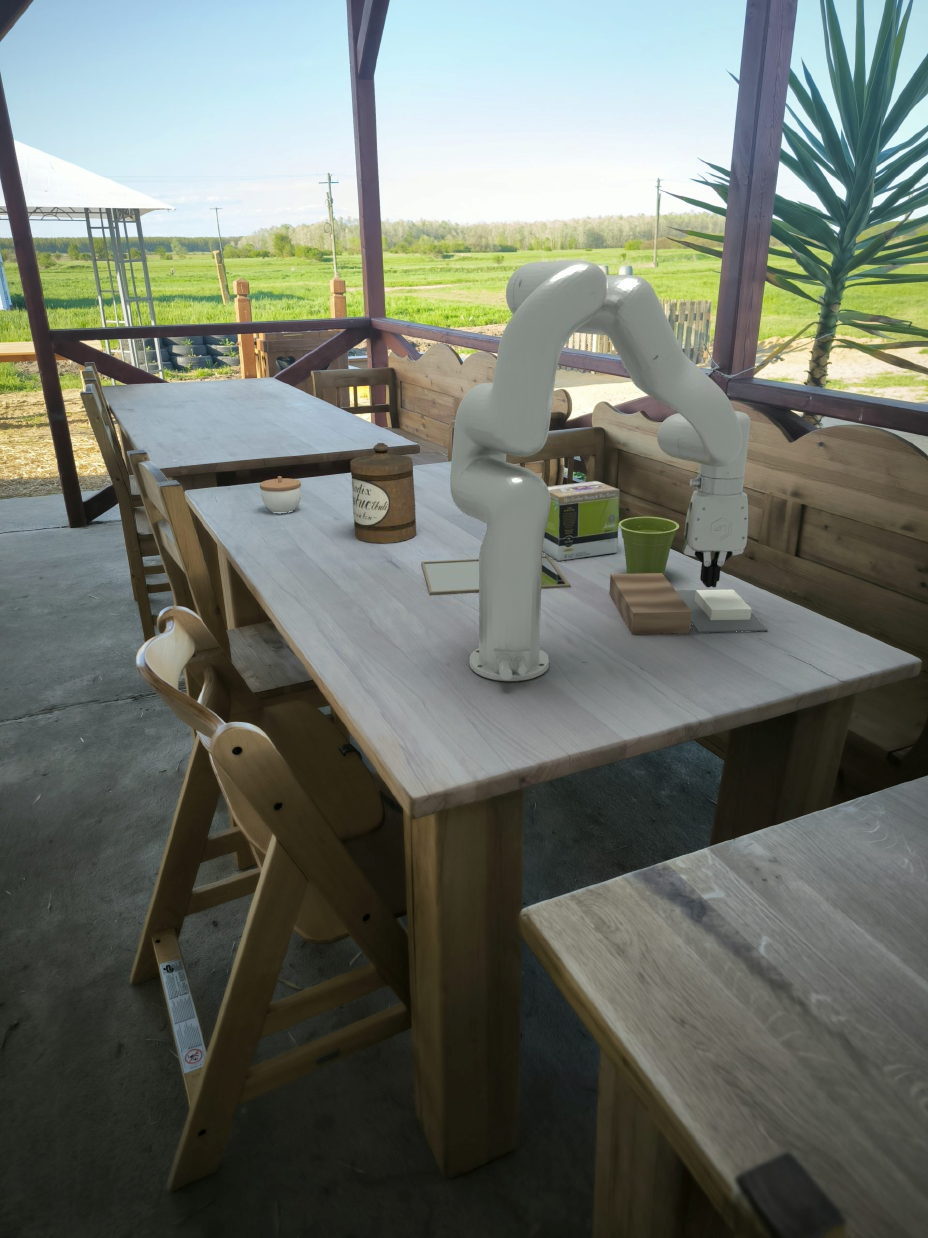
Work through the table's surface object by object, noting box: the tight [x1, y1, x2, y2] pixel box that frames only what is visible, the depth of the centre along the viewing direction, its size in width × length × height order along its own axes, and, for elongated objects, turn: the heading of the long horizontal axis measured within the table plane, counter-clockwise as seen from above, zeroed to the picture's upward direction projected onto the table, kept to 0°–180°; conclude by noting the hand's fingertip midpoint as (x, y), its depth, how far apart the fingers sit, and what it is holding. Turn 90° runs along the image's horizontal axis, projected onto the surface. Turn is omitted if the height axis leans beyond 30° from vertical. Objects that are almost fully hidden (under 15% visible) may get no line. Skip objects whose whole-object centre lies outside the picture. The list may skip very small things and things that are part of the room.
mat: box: [675, 588, 768, 634], centre depth 149 cm, size 20×12×1 cm, turn 2°
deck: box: [608, 573, 692, 635], centre depth 148 cm, size 20×10×4 cm, turn 2°
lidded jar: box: [259, 475, 302, 513], centre depth 217 cm, size 11×11×9 cm
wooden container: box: [350, 442, 417, 544], centre depth 193 cm, size 15×15×22 cm
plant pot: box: [618, 516, 680, 576], centre depth 165 cm, size 12×12×11 cm
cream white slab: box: [695, 588, 753, 620], centre depth 149 cm, size 10×7×2 cm
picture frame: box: [420, 554, 571, 596], centre depth 169 cm, size 19×1×28 cm
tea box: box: [542, 480, 621, 562], centre depth 180 cm, size 15×10×15 cm
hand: (709, 584), depth 147 cm, fingers closed
